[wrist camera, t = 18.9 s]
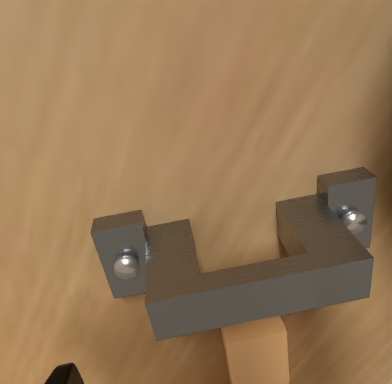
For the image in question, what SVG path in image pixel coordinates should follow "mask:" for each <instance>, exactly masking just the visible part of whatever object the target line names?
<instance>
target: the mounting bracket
mask: <svg viewBox="0 0 392 384" xmlns="http://www.w3.org/2000/svg"><path fill="white" fill-rule="evenodd" d="M376 180H377V177H376V176H375V175H373V174H372V173H371V172H369V171H368V170H367V169H366V168H364V167H361V168H356V169H351V170H346V171H340V172H335V173H330V174H325V175H320V176H318V194H315V195H310V196H305V197H300V198H295V199H290V200H284V201H279V202H276V211H277V230H278V237H279V239H280V240H281V242H282V244H283V246H284V248H285V249H286V251H287V253H288V255H289V257H284V258H279V259H274V260H269V261H264V262H259V263H254V264H249V265H244V266H239V267H234V268H229V269H224V270H219V271H214V272H209V273H204V274H199V271H198V265H197V260H196V255H195V249H194V244H193V239H192V234H191V229H190V224H189V219H186V220H181V221H176V222H171V223H166V224H161V225H156V226H150V227H146V225H145V222H144V218H143V214H142V210H138V211H133V212H127V213H122V214H117V215H112V216H107V217H102V218H96V219H94V220H93V224H92V228H91V232H90V233H91V236H92V238H93V241H94V244H95V247H96V249H97V252H98V255H99V258H100V261H101V263H102V266H103V269H104V272H105V274H106V277H107V280H108V283H109V285H110V288H111V291H112V294H113V296H114V299H115V298H120V297H125V296H130V295H135V294H140V293H145V305H146V308H147V312H148V315H149V318H150V321H151V325H152V328H153V331H154V334H155V338H156V341H158V340H163V339H168V338H173V337H178V336H183V335H188V334H193V333H197V332H202V331H207V330H212V329H217V328H222V327H227V326H232V325H237V324H242V323H247V322H251V321H256V320H261V319H266V318H271V317H276V316H281V315H286V314H291V313H296V312H301V311H305V310H310V309H315V308H320V307H325V306H330V305H335V304H340V303H345V302H350V301H355V300H360V299H364V298H369V297H370V288H371V279H372V270H373V261H374V258H373V256H372V255H371V254H370V253H369V252H368V251H367V250H366V248H370V239H371V229H372V219H373V210H374V200H375V190H376Z"/></svg>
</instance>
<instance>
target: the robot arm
mask: <svg viewBox="0 0 392 384" xmlns="http://www.w3.org/2000/svg"><path fill="white" fill-rule="evenodd" d="M44 384H84V382H83V379H82V377H81V375H80V373H79V371H78V369H77V367H76V365H75V364H74V363H67V364H62V365H59V366H57V367H56V368H55V369H54V370H53V372H52V373H51V375H50V376H49V378H48V379H47V380H46V382H45V383H44Z"/></svg>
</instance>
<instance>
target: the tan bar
mask: <svg viewBox="0 0 392 384" xmlns="http://www.w3.org/2000/svg"><path fill="white" fill-rule="evenodd" d="M221 334H222V340H223V345H224V351H225V357H226V362H227V368H228V373H229V379H230V384H289V366H288V345H287V331H286V328H285V326H284V324H283V321H282V319H281V316H276V317H271V318H266V319H261V320H256V321H251V322H247V323H242V324H237V325H232V326H227V327H222V328H221Z"/></svg>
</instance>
